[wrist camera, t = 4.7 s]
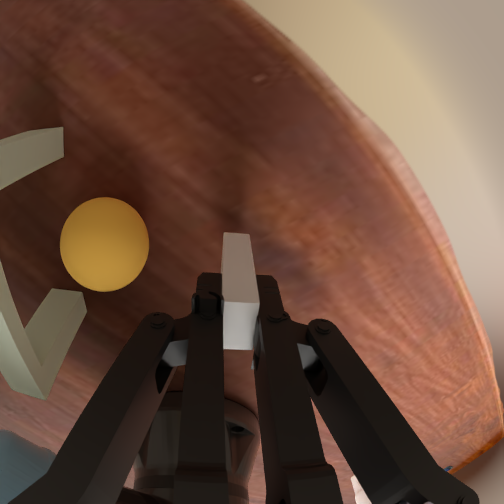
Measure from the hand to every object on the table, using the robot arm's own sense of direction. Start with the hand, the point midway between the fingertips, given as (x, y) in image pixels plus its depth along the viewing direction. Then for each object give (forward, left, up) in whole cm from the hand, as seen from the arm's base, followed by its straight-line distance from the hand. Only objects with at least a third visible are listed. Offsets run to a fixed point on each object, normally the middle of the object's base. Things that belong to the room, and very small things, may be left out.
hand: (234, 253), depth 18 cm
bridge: (0, +13, -2) cm, 13 cm away
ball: (+1, +8, +1) cm, 8 cm away
